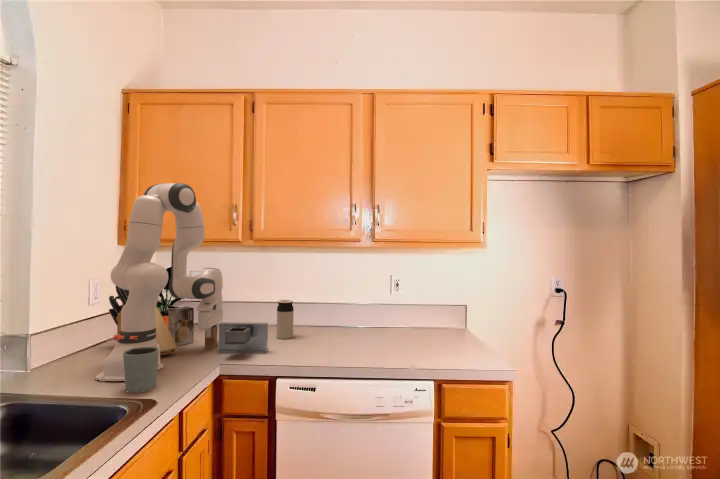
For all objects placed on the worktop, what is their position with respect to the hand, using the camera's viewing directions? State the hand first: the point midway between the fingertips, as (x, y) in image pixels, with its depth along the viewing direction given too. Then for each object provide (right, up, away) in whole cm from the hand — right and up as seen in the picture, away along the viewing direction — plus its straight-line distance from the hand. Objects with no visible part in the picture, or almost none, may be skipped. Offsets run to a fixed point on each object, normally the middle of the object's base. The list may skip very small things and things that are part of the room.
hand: (211, 335), depth 178 cm
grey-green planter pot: (-4, -5, -50) cm, 50 cm away
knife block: (-27, -5, -8) cm, 28 cm away
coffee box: (-16, -5, +6) cm, 18 cm away
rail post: (0, -5, 0) cm, 5 cm away
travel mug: (+29, -6, +20) cm, 36 cm away
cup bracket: (+16, -5, -10) cm, 20 cm away
